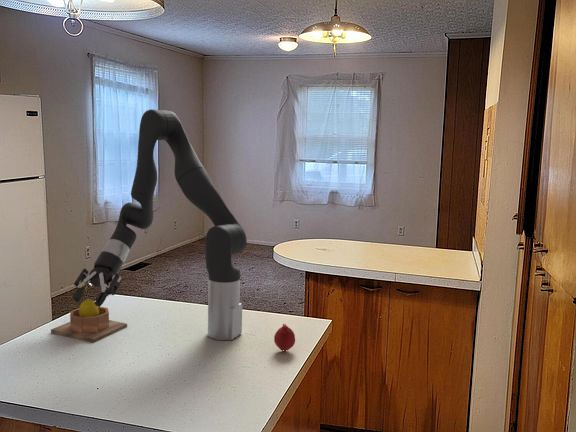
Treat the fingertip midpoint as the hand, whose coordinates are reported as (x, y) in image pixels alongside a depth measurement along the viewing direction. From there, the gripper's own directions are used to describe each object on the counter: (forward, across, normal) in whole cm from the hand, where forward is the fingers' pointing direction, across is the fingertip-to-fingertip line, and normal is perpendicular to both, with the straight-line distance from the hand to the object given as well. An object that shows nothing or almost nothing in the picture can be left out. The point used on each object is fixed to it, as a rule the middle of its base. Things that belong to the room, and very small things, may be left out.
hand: (85, 303), depth 154 cm
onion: (-3, +58, +16) cm, 60 cm away
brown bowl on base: (+5, 0, +7) cm, 9 cm away
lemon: (+4, 0, +6) cm, 8 cm away
